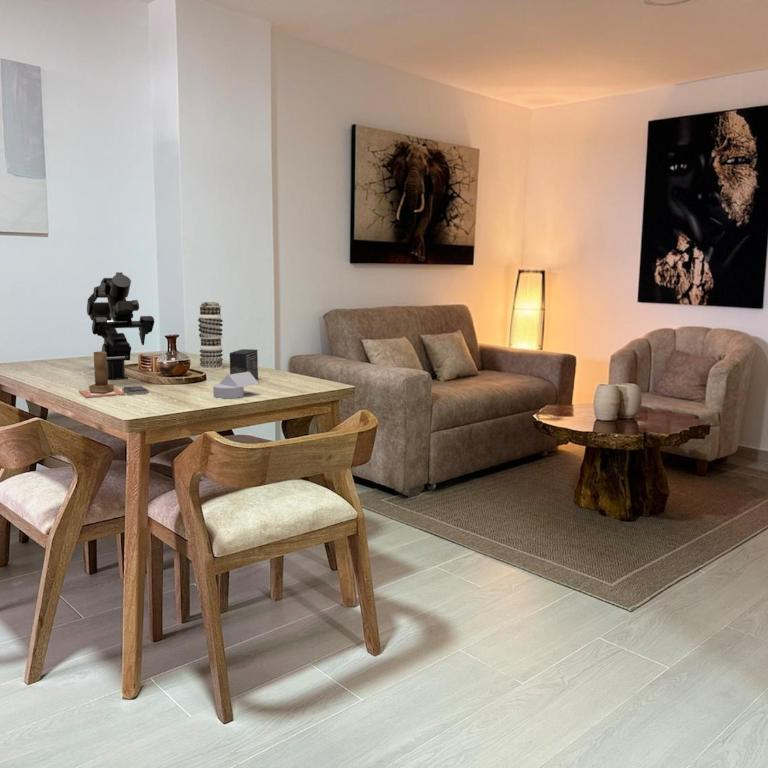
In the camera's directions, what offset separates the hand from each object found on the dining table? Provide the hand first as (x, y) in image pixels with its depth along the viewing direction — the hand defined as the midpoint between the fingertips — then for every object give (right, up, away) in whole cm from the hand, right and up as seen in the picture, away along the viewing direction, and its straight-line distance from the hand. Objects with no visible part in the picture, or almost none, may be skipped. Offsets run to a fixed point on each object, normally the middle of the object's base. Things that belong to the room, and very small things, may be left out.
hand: (128, 345), depth 232 cm
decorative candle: (+16, -7, +46) cm, 49 cm away
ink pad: (+5, -15, -7) cm, 17 cm away
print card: (-5, -15, -10) cm, 19 cm away
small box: (+33, -12, +18) cm, 40 cm away
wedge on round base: (+35, -16, -9) cm, 40 cm away
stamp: (-5, -15, -10) cm, 19 cm away
